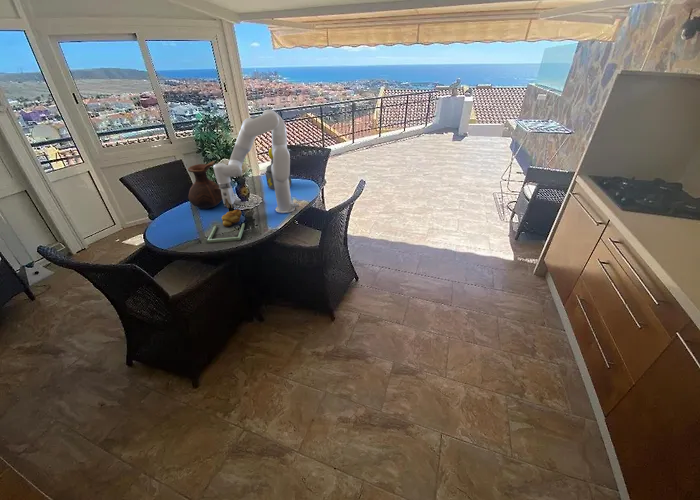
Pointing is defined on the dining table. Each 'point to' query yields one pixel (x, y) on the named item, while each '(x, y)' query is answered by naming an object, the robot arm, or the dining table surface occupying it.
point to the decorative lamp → (269, 174)
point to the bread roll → (231, 217)
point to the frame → (224, 238)
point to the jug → (204, 188)
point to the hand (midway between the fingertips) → (232, 212)
